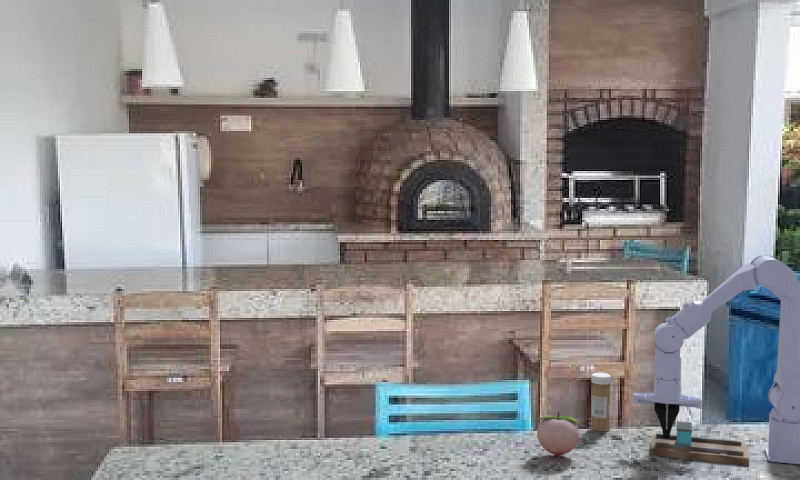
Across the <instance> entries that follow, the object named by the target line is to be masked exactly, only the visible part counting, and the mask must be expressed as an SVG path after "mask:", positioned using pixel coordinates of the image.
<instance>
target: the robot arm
mask: <svg viewBox="0 0 800 480" xmlns="http://www.w3.org/2000/svg"><path fill="white" fill-rule="evenodd" d="M758 284H759V285H760V286H761V287H763V288H764V289H767V290H769V291H771V292H772V293H773V294H774V295H775V296H776V297H777V298H778V299H779V300H780V309H779V310H780V312H779V325H778V326H779V328H778V330H779V331H778V345H777V347H778V349H777V363H776V365H777V367H776V372H775V374H774V377H773V384H772V386H771V387H770V389H769V390H768V391H769V392H768V401H769V403H770V404H771V405H772V406H773V407H772V408H771V411H770V412H769V413H768V415H769V416H768V418H769V419H768V420H769V421H768V446H767V447H764V452H765V455H766V458H767V461H768V462H771V463H782V464H790V465H791V464H792V465H793V464H794V465H800V281H799V279H798V278H797V276H796V274H795V272H794V270H793V269H792V268H791V267H789V266H788V265H787V264H786V263H784V262H782V261H781V260H779V259H776V258H775V257H773V256H771V255H769V254H760V255H758V256H755V257H754V258H753V259H752V261H750V262H748V263H745V264H744V265H742V266H741V267H740V268H738V269H737V270H736V271H735V272H734V273H732V275H730V276H729V277H728V278H727V279H725V281H723V282H722V283H721V284H720V285H719V286H717V287H716V288H715V289H714V290H713V291H712V292H711V293H709V294H708V295H707V296H706V297H705V298H703V299H702V300H692V301H690V302H689V303H688V302H687V301H685V302H684V303H682V307H683V308H681V309H680V310H679V311H677V312H676V313H675V314H673V315H672V316H671V317H669V316H668V317H666V318H665V321H666V322H662V323H660V324H658V325H657V326H656V328H655V329H654V332H653V333H652V336H653V340H654V342H655V348H654V358H653V360H654V361H653V392H647V393H646V392H640V393H639V392H633V394H632V404H635V405H636V404H648V405H654V409H653V410H654V412H655V414H656V416H657V418H658V421H659V424H660V427H661V430H662V434H663V438H670V434H672V433H671V432H672V429H673V425H674V424H675V420H677V419H676V418H677V416H678V415H679V413H680V407H685V408H696V409H698V410H700V409H701V410H702V408H703V406H702V405H703V398H702V397H695V396H688V395H684V394H681V393H682V357H681V349H682V347H683V346H684V342H685V340H687V339H689V338H690V337H692V336H693V335H695V334H696V333H697V332H699V331H700V330H702V328H704V327H705V326H706V325H707V324H709V323H710V322H711V321H712V315H713V314H712V313H713V312H714V311H716V310H717V309H719V308H720V307H722V306H723V305H724V304H726V303H727V302H728V301H730V300H732V299H733V298H735V296H737V295H739V294H740V293H741V292H743V291H754V290H756V291H757V290H759V286H758Z"/></svg>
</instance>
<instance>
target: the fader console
mask: <svg viewBox="0 0 800 480" xmlns="http://www.w3.org/2000/svg"><path fill="white" fill-rule="evenodd" d="M649 453H650V454H649V455H650V456H657V457H663V458H665V457H666V458H675V459H684V460H686V459H687V460H694V461H695V460H697V461H706V462H715V463H724V464H736V465H743V466H744V465H745V466H750V457H749V453H748V448H747V444H746V442H742V440H737V439H735V440H734V439H726V438H713V437H703V436H694V435H692V436H691V445H680V444H677V434H672V433H670V438H663V432H662V433H659V432H655V433H651V439H650V451H649Z"/></svg>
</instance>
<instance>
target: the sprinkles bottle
mask: <svg viewBox="0 0 800 480" xmlns="http://www.w3.org/2000/svg"><path fill="white" fill-rule="evenodd" d="M590 379H591V381H590V382H591V429H593V430H594V429H595V430H594V431H597V432H606V431H609V430H610V429H611V383H612V377H611V375H610V374H609V373H606V372H594V373H592V374H591V378H590Z"/></svg>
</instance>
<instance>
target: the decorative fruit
mask: <svg viewBox="0 0 800 480" xmlns="http://www.w3.org/2000/svg"><path fill="white" fill-rule="evenodd" d="M538 421H540V422H539V424H538V425H537V426H538V427H537V431H536V436H537V440H538V442H539V444H540V446H541V447H542V448H543V449H544V450H545V451H546V452H548V453H549V454H552V455H555V456H557V457H560V456H562V455H566V454H569V453H570V452H571V451H573V450H574V449H575V448H576V446H577V444H578V443H579V438H580V432H579V427H578V425H581V423H580V421H578V419H576V418H574V417H572V416H569V415H563V416H560V412H559V411H557V416H556V415H551V414H547V415H543V416H540V417H539V418H538V419H536V422H538ZM577 424H578V425H577Z"/></svg>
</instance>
